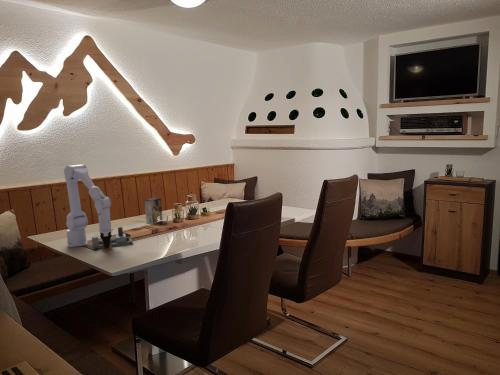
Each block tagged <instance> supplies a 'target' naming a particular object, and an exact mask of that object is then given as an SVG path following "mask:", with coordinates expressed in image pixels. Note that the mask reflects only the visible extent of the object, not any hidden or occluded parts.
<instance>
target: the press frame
mask: <svg viewBox="0 0 500 375" xmlns="http://www.w3.org/2000/svg"><path fill="white" fill-rule="evenodd" d="M91 242H92V250H95V249H94V248H97V249H102V244H100V243H102V239H101V240H100V238H99V233H98V232H94V233H92V234H91ZM111 245H112V246H115V247H119V246H120V247H121V246H122V245H123V246H129V245H133V240H132V237H131V236H126V242H120V243H116V238H111Z"/></svg>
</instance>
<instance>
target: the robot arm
mask: <svg viewBox="0 0 500 375" xmlns="http://www.w3.org/2000/svg"><path fill="white" fill-rule="evenodd" d="M63 173H64V178H65V181H66V188H67V196H68V203H69V208H70V210H69V211H70V212H69V213H68V214H67V215H66V222H65V223H66V227H67V228H68V229H66V241H67V242H66V243H67V247H68V248H74V247H81V246H88V243H89V242H88V240H87V233H86V228H87V226H88V224H89V220H88V217H87V214H86V212H85V211H83V210H82V205H81V199H80V192H79V185H78V182H79V180H80V181H81V182H82V183H83V184H84V185H85V187H86V188H87V189H88V195H89V196H90V198H91V199H92V200H93V202H94V208H95V210H96V213H97V216H98V227H99V230H98V232H99V237H100V239H101V240H102V241H103V244H104V247H105V248H109V246H110V239H112V236H113V235H112V231H114V229H115V228H113V227H112V221H111V211H110V210H111V209H110V208H111V207H112V204H113V203H112V200H111V197H109V196H106V195H105V194H104V193H103V191H102V190H101V188H100V187H99V186H95V184H94V181H92V178H91V177H90V174H89V169H88V168H87V166H86V164H84V163H81V164H73V165H69V164H68V165H66V166H65V168H64V169H63Z"/></svg>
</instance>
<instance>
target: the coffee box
mask: <svg viewBox="0 0 500 375" xmlns="http://www.w3.org/2000/svg"><path fill="white" fill-rule="evenodd" d="M144 208H145V209H144V210H145V221H146V224H149V225H155V224H157V221H158V220H157V217H158V216H160V220H163V211H162V209H163V207H162V198H160V197H153V198H148V199H144ZM154 223H155V224H154Z"/></svg>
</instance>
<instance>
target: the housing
mask: <svg viewBox="0 0 500 375" xmlns="http://www.w3.org/2000/svg"><path fill="white" fill-rule="evenodd" d="M111 239H112V238H111ZM111 239H110V246H109V248H105V247H104V244H103V241H102V244H101V245H102V248H101V249H102V252H105V251H112V250H113V248H112V245H111V244H112V242H111Z"/></svg>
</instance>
